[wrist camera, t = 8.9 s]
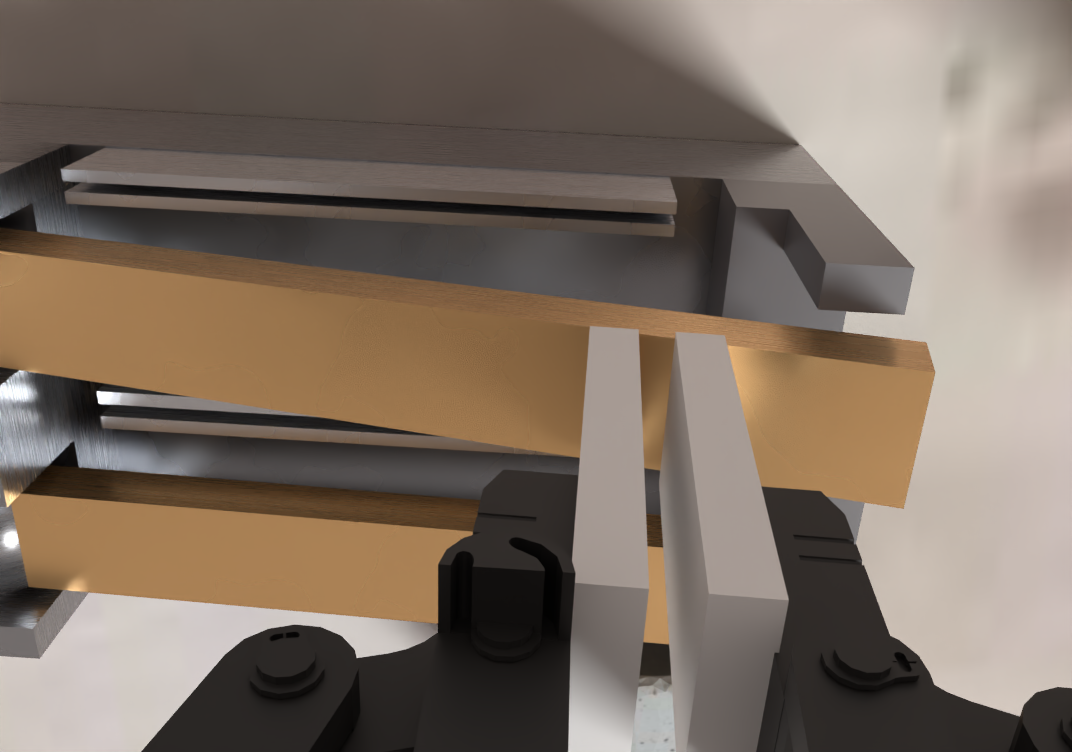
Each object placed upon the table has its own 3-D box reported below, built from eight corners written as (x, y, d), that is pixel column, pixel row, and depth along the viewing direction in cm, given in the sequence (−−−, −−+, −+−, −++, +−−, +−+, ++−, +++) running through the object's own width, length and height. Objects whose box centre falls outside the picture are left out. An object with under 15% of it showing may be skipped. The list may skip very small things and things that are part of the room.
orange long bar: (-1, 541, 23) (-50, 589, 21) (-22, 451, 22) (-73, 493, 20) (821, 613, 22) (836, 668, 20) (839, 521, 21) (857, 572, 19)
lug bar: (674, 571, 25) (694, 730, 20) (722, 178, 21) (763, 259, 16) (769, 577, 25) (814, 739, 20) (838, 184, 21) (914, 267, 16)
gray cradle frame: (63, 451, 29) (-130, 647, 21) (-1, 102, 25) (-271, 188, 17) (747, 493, 29) (806, 710, 21) (801, 144, 24) (900, 252, 17)
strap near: (-39, 325, 21) (-109, 357, 19) (-63, 214, 20) (-138, 239, 18) (895, 463, 17) (905, 518, 16) (924, 336, 16) (937, 380, 15)
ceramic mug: (505, 702, 32) (488, 918, 25) (500, 486, 29) (478, 667, 22) (833, 708, 32) (907, 928, 25) (868, 490, 29) (964, 676, 22)
